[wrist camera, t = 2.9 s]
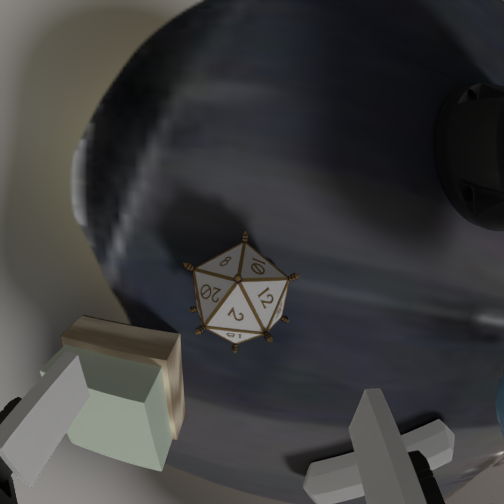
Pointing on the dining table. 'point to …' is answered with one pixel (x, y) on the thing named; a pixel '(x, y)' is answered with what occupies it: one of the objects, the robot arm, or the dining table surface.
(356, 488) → the chamfered grey bar
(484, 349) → the dining table surface
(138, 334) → the tower base block
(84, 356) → the tower top block
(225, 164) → the dining table surface
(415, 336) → the dining table surface
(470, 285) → the dining table surface
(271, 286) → the game die
